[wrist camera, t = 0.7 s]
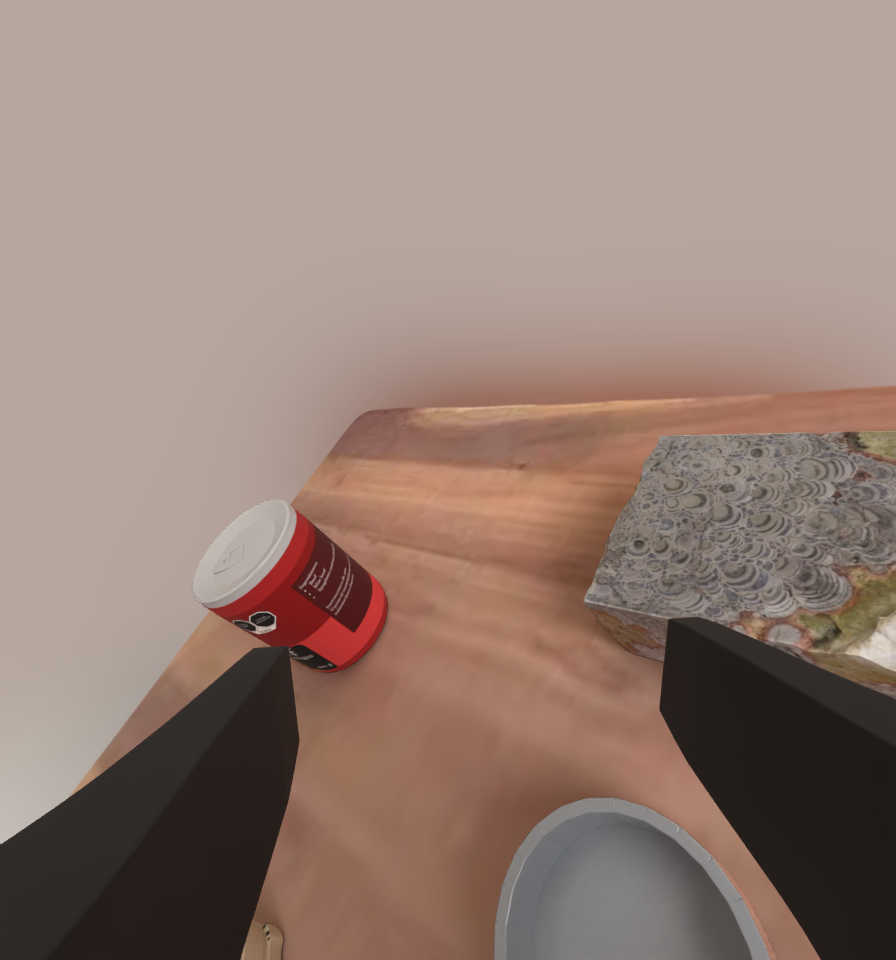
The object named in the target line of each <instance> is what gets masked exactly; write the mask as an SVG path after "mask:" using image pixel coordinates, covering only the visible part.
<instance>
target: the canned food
mask: <svg viewBox="0 0 896 960" xmlns="http://www.w3.org/2000/svg"><path fill="white" fill-rule="evenodd" d="M192 593H193V597H194V598H195V599H196V600H197V601H198V602H200V603H201V604H202V605H203V606H204V607H206V608H208V609H209V610H211V611H213V612H214V613H216V614H217V615H219V616H220V617H222V618H224V619H226V620H227V621H229V622H231V623H232V624H234V625H236V626H238V627H239V628H241V629H243V630H244V631H246V632H248V633H250V634H251V635H253V636H255V637H256V638H258V639H260V640H262V641H263V642H265V643H267V644H268V645H270V646H272V647H277V646H288V647H289V655H290V657H291V658H292V659H294V660H296V661H298V662H299V663H301V664H303V665H304V666H306V667H308V668H310V669H312V670H314V671H322V672H336V671H340V670H342V669H345V668H347V667H349V666H350V665H352V664H354V663H355V662H356V661H357V660H359V659H360V658H361V657H362V656H363V655H364V654H365V653H366V652H367V651H368V650H369V649H370V648H371V646H372V645H373V644H374V642H375V641H376V640H377V638H378V636H379V634H380V632H381V631H382V628H383V626H384V623H385V620H386V616H387V608H388V603H387V597H386V595H385V592H384V590H383V588H382V586H381V584H380V583H379V582H378V581H377V580H376V579H375V578H374V577H373V576H372V575H371V574H370V573H368V572H367V571H366V570H365V569H364V568H363V567H361V566H360V565H359V564H358V563H357V562H356V561H355V560H353V559H352V558H351V557H350V556H349V555H348V554H347V553H345V552H344V551H343V550H342V549H341V548H340V547H339V546H337V545H336V544H335V543H334V542H333V541H332V540H331V539H329V538H328V537H327V536H326V535H325V534H324V533H323V532H321V531H320V530H319V529H318V528H317V527H316V526H315V525H313V524H312V523H311V522H310V521H309V520H308V519H307V518H305V517H304V516H303V515H302V514H300V513H299V512H298V511H297V510H296V509H294V508H293V507H292V506H290V505H288V504H287V503H286V502H285V501H282V500H278V499H273V500H268V501H265V502H263V503H260V504H258V505H256V506H254V507H253V508H251V509H249V510H248V511H246V512H245V513H243V514H242V515H241V516H239V517H238V518H237V519H236V520H234V521H233V522H232V523H231V524H230V525H229V526H228V527H227V528H226V529H225V530H224V531H223V532H222V533H221V534H220V535H219V536H218V537H217V538H216V540H215V541H214V542H213V543H212V545H211V546H210V547H209V549H208V550H207V552H206V553H205V555H204V557H203V558H202V560H201V562H200V564H199V566H198V568H197V570H196V573H195V575H194V578H193V582H192Z"/></svg>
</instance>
